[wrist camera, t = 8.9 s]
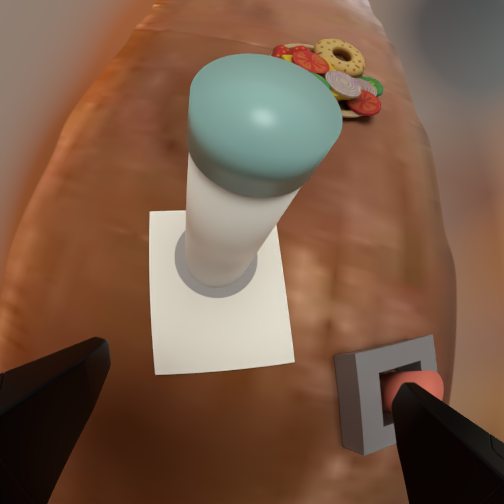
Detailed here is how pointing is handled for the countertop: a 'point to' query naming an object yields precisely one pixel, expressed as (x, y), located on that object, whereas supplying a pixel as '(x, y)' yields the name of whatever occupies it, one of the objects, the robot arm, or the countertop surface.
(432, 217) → the countertop surface
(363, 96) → the toy food set
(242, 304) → the paper
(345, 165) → the countertop surface
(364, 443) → the button housing
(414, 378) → the button
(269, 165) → the teal and white bottle
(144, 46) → the countertop surface
